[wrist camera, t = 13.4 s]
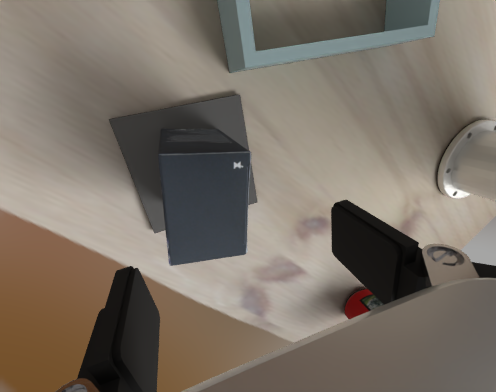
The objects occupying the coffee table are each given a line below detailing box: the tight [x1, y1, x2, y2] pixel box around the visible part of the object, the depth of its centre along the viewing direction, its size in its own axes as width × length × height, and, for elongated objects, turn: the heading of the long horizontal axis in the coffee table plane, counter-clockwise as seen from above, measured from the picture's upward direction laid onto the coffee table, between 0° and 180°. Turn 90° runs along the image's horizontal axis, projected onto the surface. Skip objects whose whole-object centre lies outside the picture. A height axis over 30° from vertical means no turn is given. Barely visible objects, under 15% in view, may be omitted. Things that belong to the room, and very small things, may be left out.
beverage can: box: [345, 289, 384, 319], centre depth 39 cm, size 7×7×12 cm
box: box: [158, 129, 251, 266], centre depth 20 cm, size 8×6×11 cm
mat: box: [109, 95, 257, 233], centre depth 25 cm, size 12×12×1 cm
